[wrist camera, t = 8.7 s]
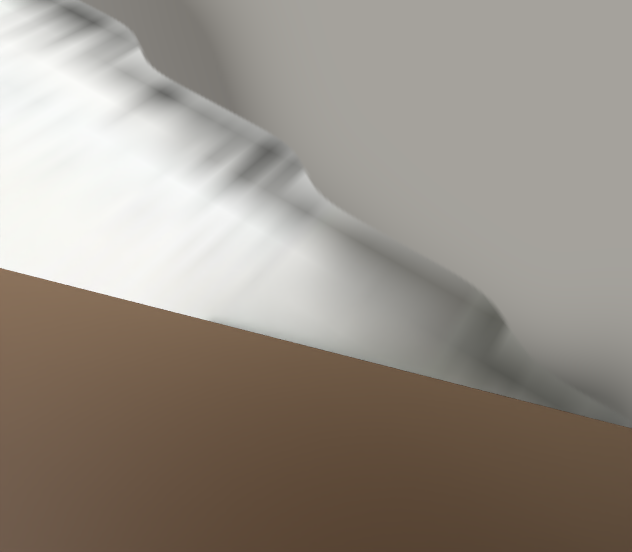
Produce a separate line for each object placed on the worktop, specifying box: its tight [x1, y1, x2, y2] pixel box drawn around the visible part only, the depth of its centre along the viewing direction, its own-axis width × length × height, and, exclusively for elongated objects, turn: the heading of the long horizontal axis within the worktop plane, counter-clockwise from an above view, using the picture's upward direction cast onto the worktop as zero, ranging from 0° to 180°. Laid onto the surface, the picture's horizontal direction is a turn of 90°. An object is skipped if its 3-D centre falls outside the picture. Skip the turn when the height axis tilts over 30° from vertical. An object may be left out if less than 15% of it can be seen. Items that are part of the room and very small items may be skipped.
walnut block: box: [0, 268, 632, 552], centre depth 8 cm, size 5×5×12 cm
